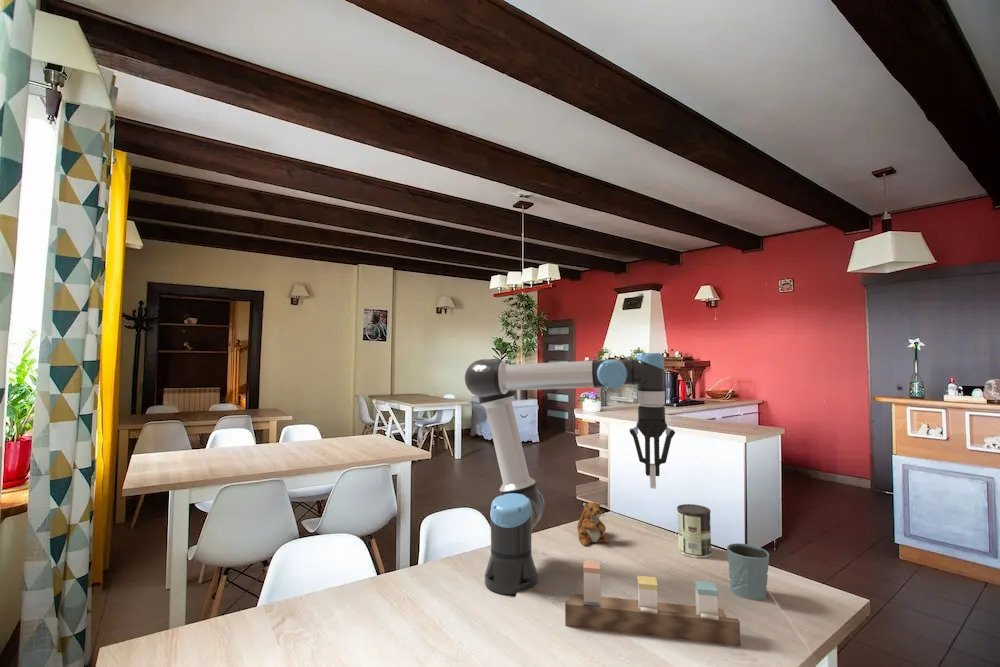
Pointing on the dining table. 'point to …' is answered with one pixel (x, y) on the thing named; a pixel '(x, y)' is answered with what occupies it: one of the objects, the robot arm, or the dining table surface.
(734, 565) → the blue-grey embossed cup
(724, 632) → the button console
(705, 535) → the coffee can
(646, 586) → the middle button
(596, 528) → the stuffed squirrel
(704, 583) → the button
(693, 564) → the dining table surface
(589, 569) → the button
